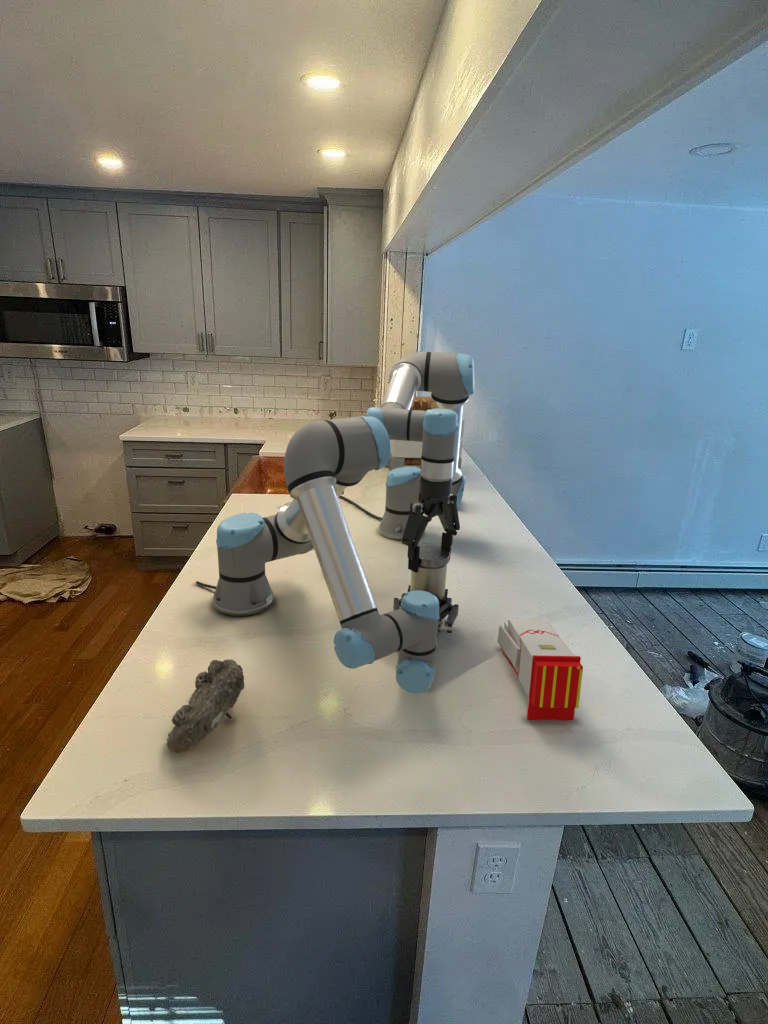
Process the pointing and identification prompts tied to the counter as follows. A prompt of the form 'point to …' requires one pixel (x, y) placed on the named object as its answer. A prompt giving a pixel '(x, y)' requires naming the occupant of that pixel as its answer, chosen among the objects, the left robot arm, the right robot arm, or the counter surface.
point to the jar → (430, 581)
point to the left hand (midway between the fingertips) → (428, 591)
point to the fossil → (206, 705)
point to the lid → (433, 556)
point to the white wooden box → (412, 450)
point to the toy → (542, 668)
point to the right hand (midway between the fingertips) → (429, 564)
